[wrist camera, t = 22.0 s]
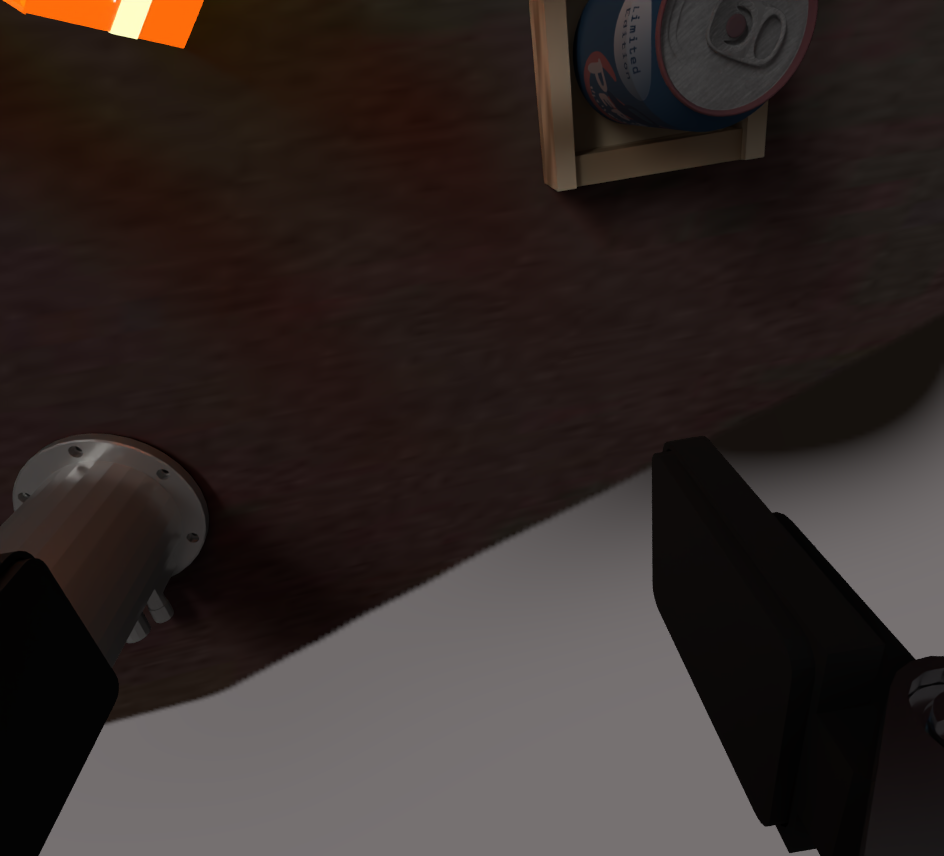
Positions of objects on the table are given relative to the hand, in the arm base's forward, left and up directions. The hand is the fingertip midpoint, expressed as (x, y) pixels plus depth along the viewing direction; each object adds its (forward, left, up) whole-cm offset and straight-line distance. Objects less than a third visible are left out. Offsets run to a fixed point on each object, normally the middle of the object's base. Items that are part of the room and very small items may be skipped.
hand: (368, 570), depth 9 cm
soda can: (+7, -14, -30) cm, 33 cm away
